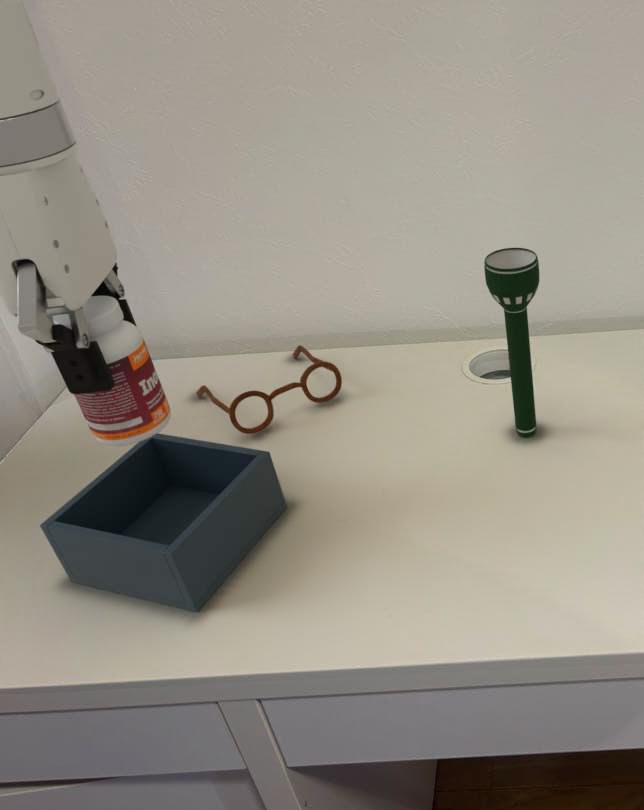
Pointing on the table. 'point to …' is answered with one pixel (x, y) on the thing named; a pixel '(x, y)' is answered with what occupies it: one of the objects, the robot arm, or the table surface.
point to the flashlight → (516, 323)
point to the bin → (167, 520)
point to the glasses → (277, 393)
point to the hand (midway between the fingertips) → (107, 365)
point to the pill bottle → (121, 378)
